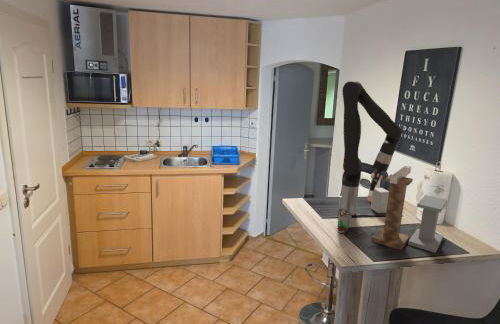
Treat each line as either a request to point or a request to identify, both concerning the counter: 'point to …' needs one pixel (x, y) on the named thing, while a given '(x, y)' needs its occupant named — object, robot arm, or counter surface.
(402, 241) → the tall stand
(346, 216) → the food container
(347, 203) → the robot arm
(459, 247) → the counter surface
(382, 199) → the small box
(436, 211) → the stand
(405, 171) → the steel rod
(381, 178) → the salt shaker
